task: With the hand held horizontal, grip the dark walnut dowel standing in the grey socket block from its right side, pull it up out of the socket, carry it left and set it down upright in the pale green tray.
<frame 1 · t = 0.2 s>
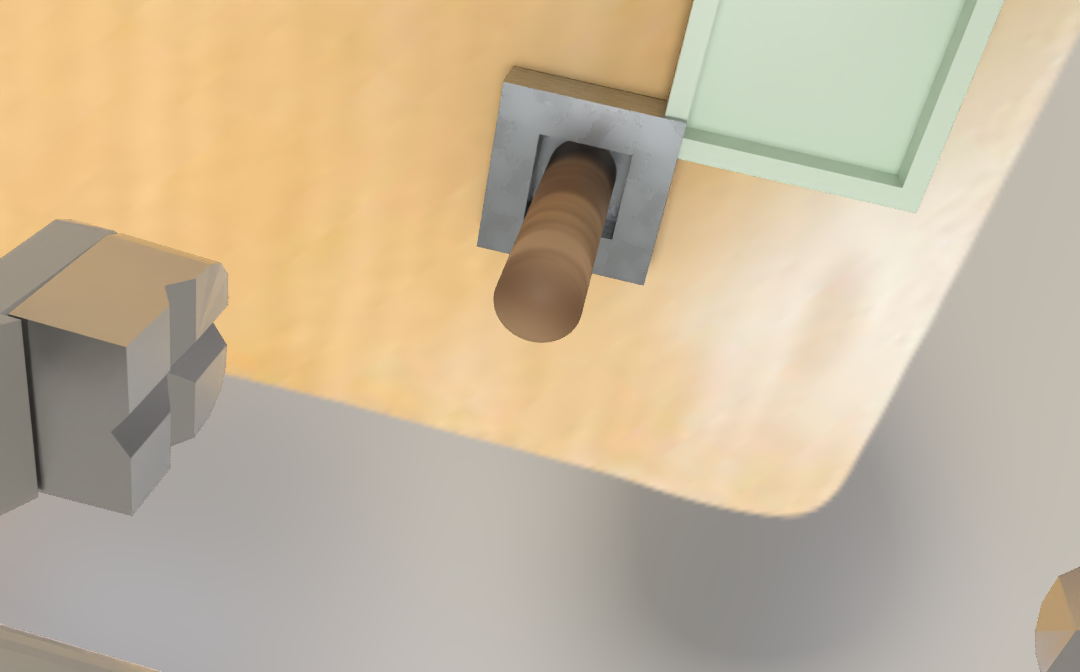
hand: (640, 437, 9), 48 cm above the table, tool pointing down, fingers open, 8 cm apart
tray: (824, 40, 53), on the table
socket block: (583, 168, 59), on the table
dowel: (582, 171, 59), resting on socket block
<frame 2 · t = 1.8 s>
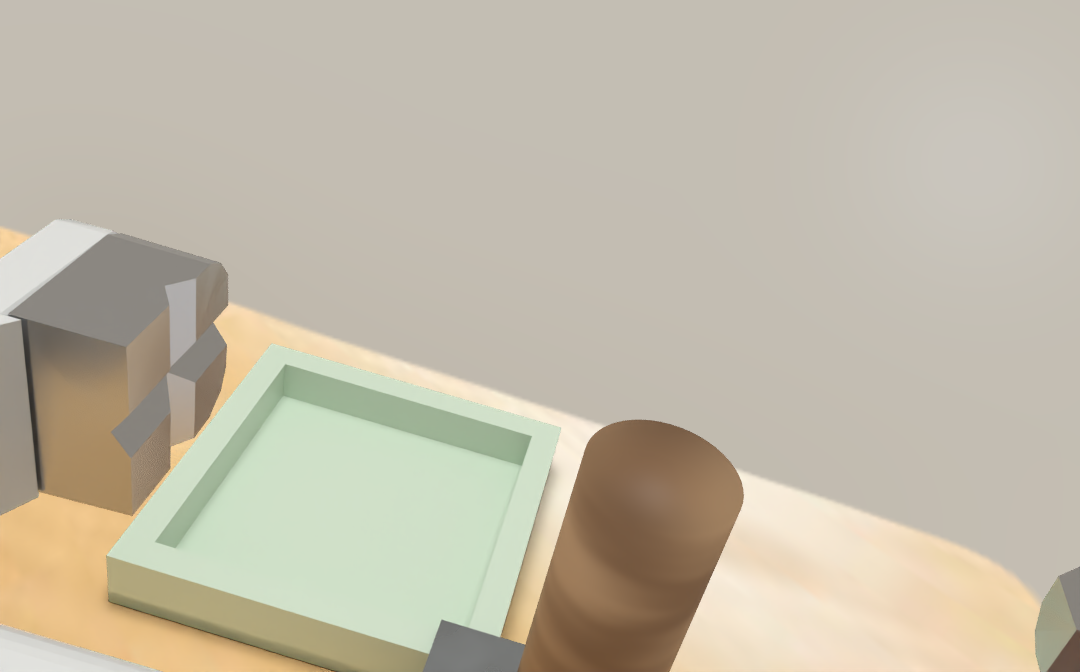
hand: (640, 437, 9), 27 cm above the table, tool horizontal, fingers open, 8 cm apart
tray: (358, 525, 43), on the table
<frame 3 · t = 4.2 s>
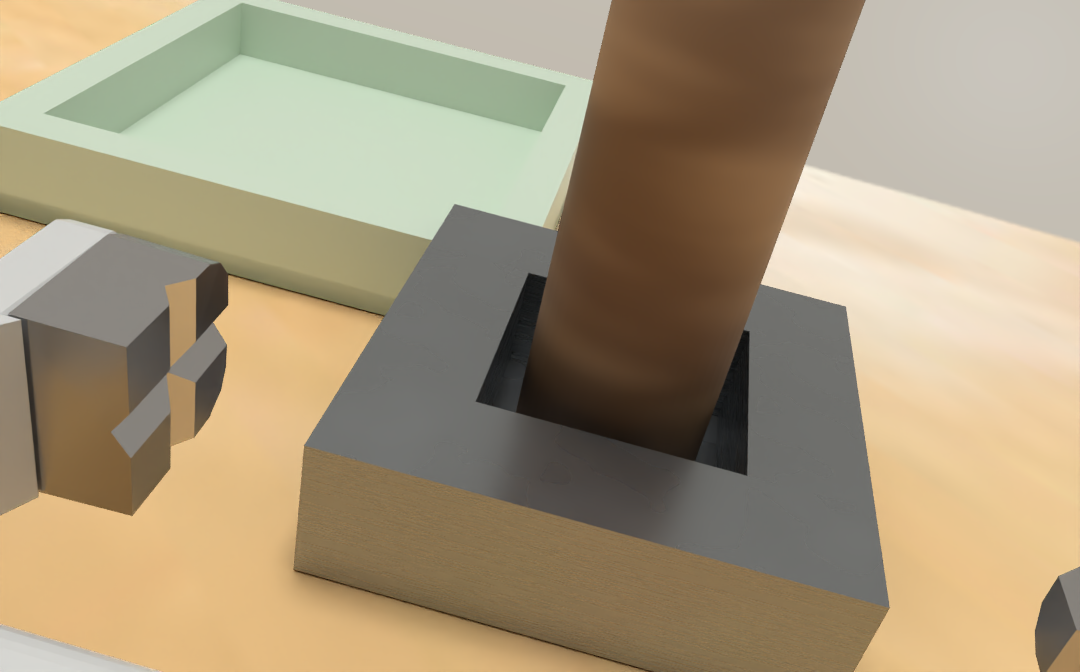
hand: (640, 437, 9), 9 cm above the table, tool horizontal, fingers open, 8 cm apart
tray: (337, 171, 32), on the table
socket block: (593, 471, 23), on the table
dowel: (599, 454, 22), point 1 cm above the table, touching socket block
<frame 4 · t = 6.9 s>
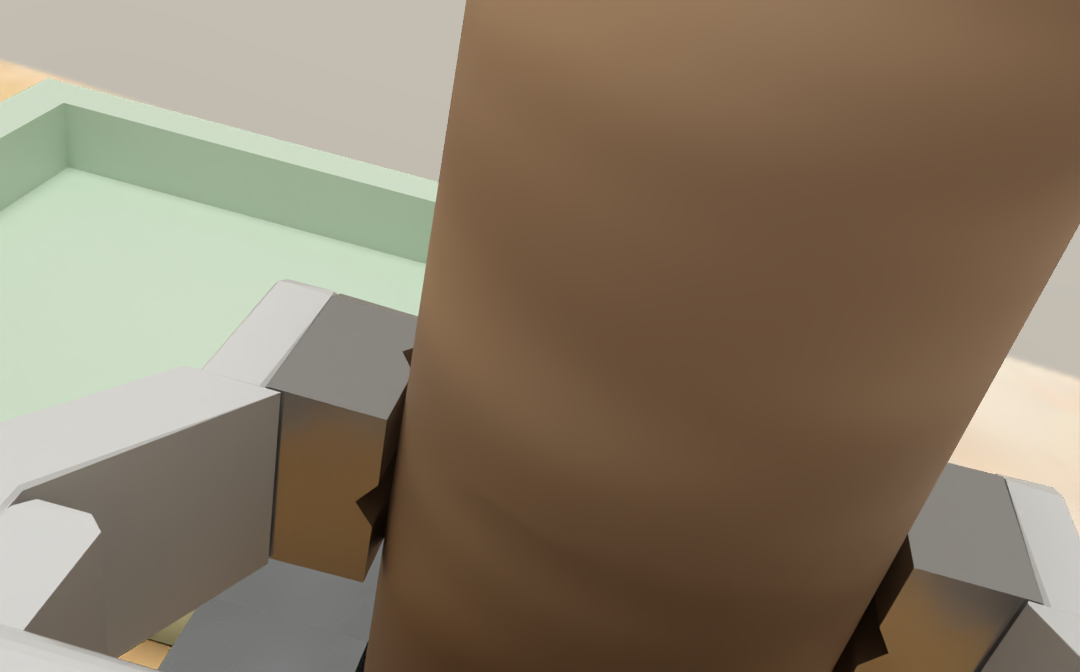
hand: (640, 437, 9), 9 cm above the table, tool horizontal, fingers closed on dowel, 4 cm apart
tray: (165, 355, 23), on the table
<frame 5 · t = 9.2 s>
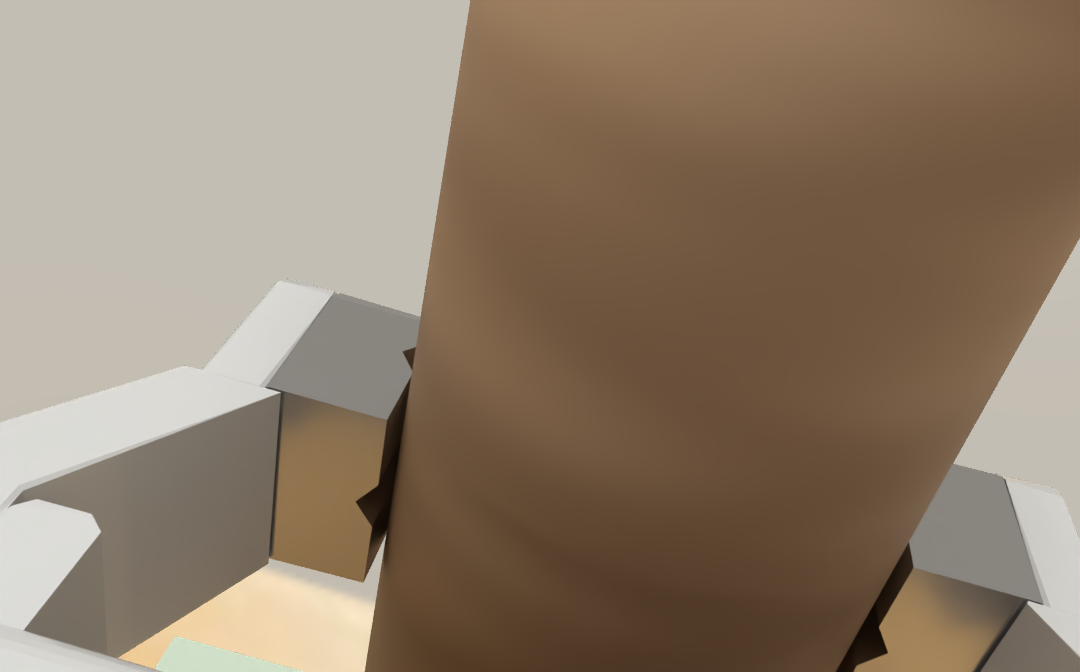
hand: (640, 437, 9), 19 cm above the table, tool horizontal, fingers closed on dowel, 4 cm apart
when the fingers open (11 cm above the table, at t = 11.5 s): dowel drops 2 cm, resting on tray.
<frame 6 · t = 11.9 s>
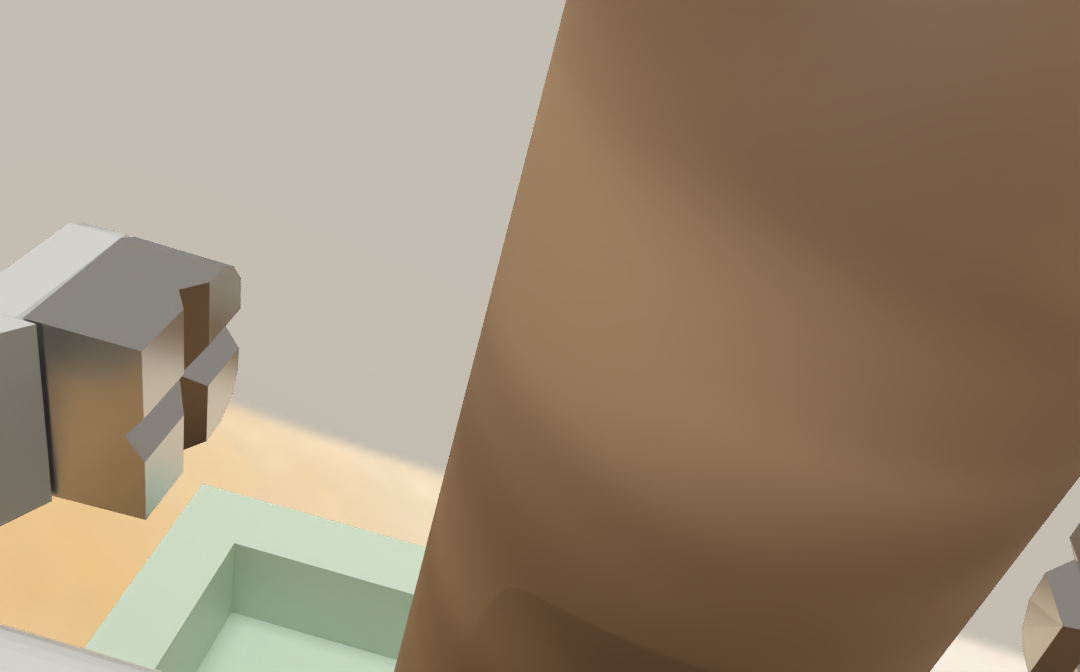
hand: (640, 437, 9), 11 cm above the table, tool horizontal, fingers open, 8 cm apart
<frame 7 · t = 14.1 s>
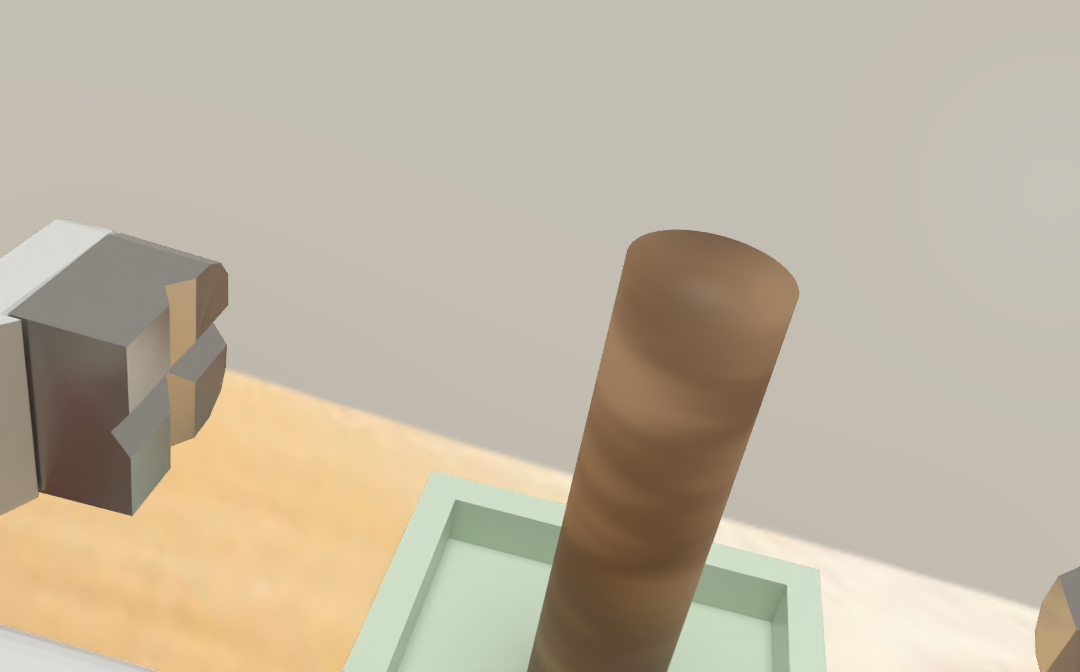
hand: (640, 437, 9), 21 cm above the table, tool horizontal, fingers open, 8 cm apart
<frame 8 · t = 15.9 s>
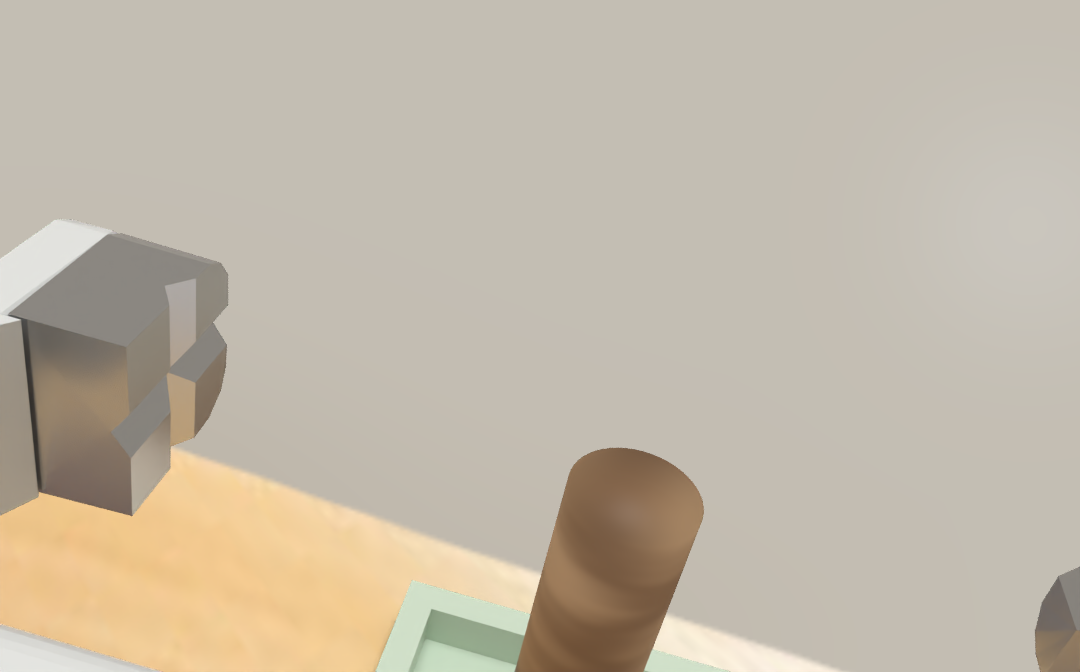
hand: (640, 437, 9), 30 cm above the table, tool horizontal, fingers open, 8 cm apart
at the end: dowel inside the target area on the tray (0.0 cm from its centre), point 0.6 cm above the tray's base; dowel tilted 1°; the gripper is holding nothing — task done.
